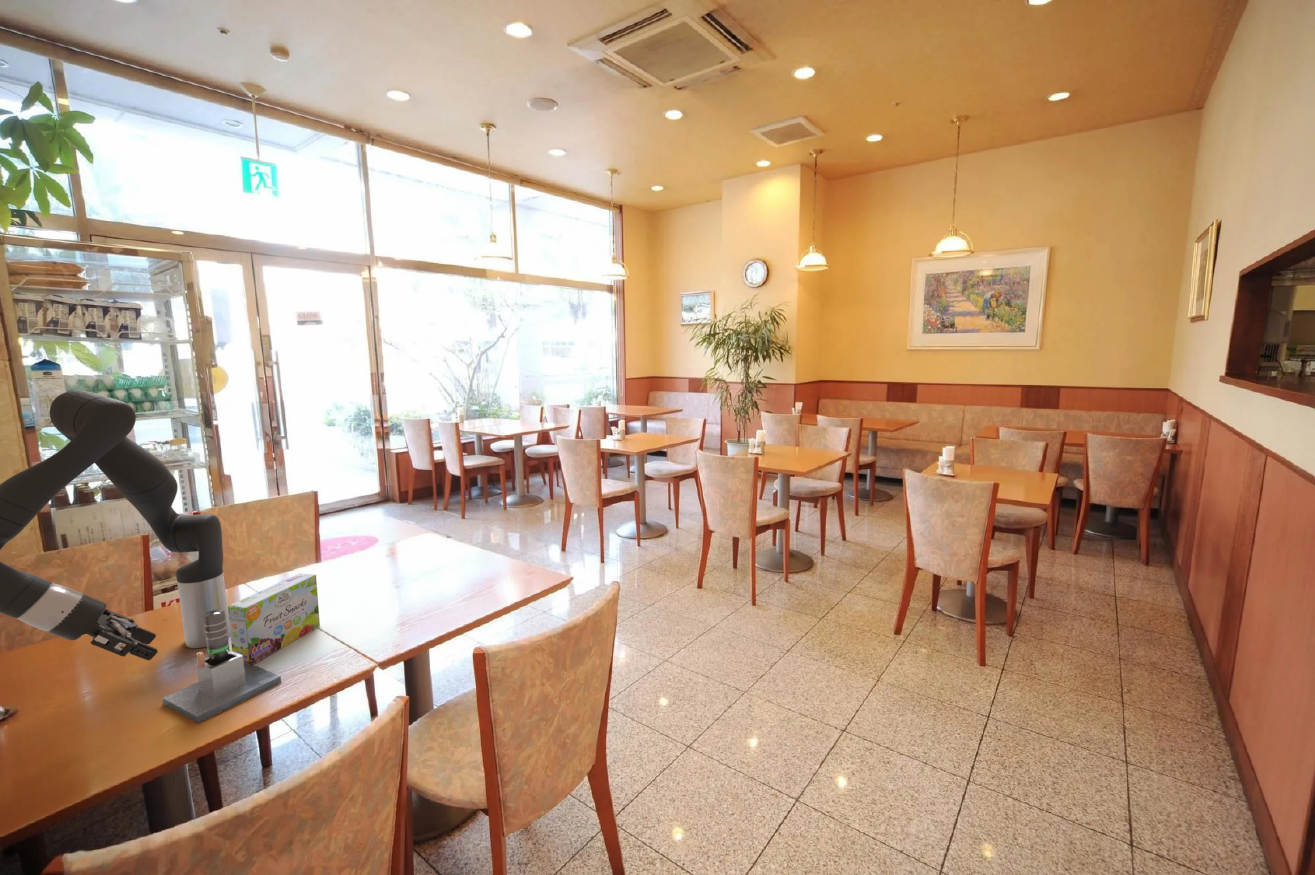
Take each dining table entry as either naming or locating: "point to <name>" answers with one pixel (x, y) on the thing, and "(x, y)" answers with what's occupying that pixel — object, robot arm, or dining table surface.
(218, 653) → the grey round-topped cylinder
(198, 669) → the grey square socket base
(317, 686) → the dining table surface
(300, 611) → the snack box
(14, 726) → the dining table surface
